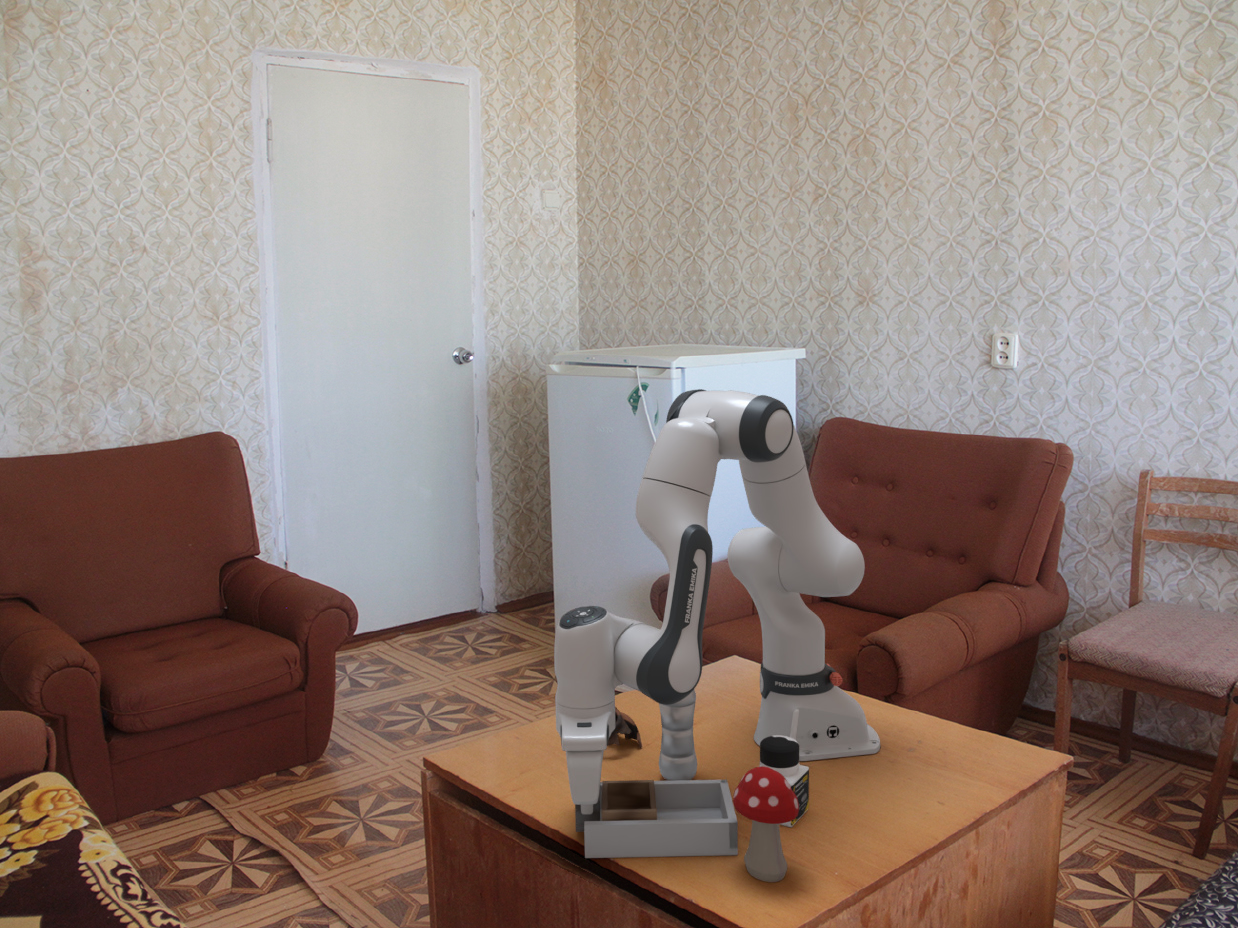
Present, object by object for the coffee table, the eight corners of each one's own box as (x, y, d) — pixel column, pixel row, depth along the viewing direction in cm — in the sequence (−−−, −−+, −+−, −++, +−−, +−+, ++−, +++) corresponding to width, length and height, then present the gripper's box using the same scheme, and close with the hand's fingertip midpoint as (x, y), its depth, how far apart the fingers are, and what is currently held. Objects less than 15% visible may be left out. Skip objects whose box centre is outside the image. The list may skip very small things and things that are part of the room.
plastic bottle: (671, 790, 170) (670, 673, 167) (651, 774, 176) (649, 661, 173) (705, 781, 173) (704, 666, 170) (684, 766, 179) (683, 655, 176)
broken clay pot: (649, 757, 184) (630, 724, 181) (602, 780, 185) (582, 748, 182) (638, 716, 195) (619, 685, 192) (594, 738, 196) (574, 707, 193)
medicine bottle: (791, 828, 157) (792, 752, 155) (748, 817, 161) (748, 743, 159) (809, 809, 163) (810, 736, 161) (767, 798, 167) (767, 727, 165)
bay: (727, 809, 163) (726, 779, 162) (737, 854, 149) (737, 822, 149) (587, 812, 163) (586, 782, 162) (585, 857, 149) (584, 825, 148)
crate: (654, 809, 161) (653, 766, 160) (657, 842, 151) (656, 796, 150) (577, 810, 161) (576, 767, 160) (574, 843, 151) (573, 798, 150)
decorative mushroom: (812, 878, 143) (813, 775, 141) (763, 896, 138) (763, 790, 136) (767, 847, 151) (767, 749, 149) (719, 863, 147) (719, 763, 145)
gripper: (567, 692, 164) (569, 775, 166) (560, 744, 144) (563, 838, 145) (607, 691, 164) (608, 774, 166) (606, 743, 144) (608, 837, 146)
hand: (587, 805), depth 155 cm, fingers closed on crate, 3 cm apart
